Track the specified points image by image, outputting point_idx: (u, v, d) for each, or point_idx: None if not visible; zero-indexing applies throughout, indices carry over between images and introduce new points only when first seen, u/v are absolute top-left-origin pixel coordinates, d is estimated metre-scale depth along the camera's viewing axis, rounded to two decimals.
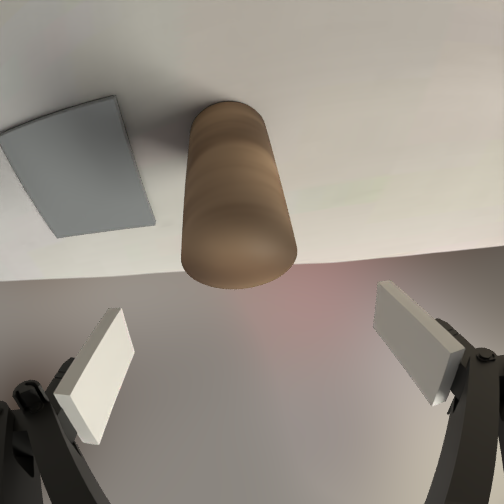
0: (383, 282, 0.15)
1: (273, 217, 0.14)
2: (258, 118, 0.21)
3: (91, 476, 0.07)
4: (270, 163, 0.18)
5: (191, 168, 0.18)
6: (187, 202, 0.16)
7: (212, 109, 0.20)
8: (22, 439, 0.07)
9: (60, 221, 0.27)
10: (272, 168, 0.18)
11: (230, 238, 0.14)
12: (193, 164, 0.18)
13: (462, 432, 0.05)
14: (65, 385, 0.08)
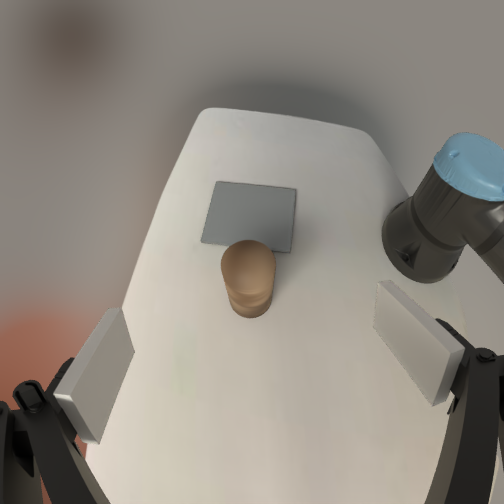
0: (383, 282, 0.15)
1: (268, 283, 0.33)
2: (262, 312, 0.42)
3: (91, 476, 0.07)
4: (262, 300, 0.37)
5: None
6: None
7: None
8: (22, 439, 0.07)
9: (227, 190, 0.53)
10: (261, 300, 0.37)
11: (265, 263, 0.34)
12: None
13: (462, 432, 0.05)
14: (65, 385, 0.08)
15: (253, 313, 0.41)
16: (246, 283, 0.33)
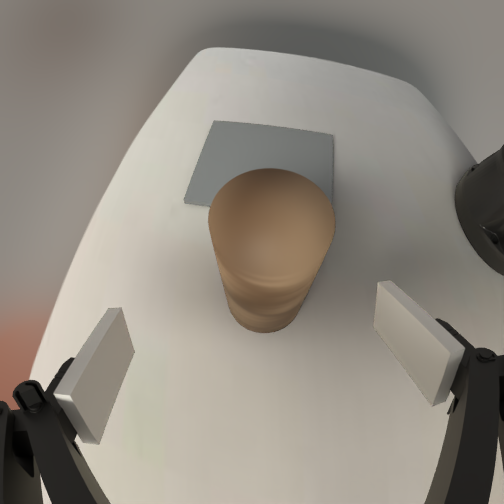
0: (383, 282, 0.15)
1: (318, 261, 0.14)
2: (286, 323, 0.23)
3: (91, 476, 0.07)
4: (293, 303, 0.18)
5: None
6: None
7: None
8: (22, 439, 0.07)
9: (230, 131, 0.33)
10: (293, 302, 0.18)
11: (311, 215, 0.14)
12: None
13: (462, 432, 0.05)
14: (65, 385, 0.08)
15: (271, 325, 0.22)
16: (268, 259, 0.13)
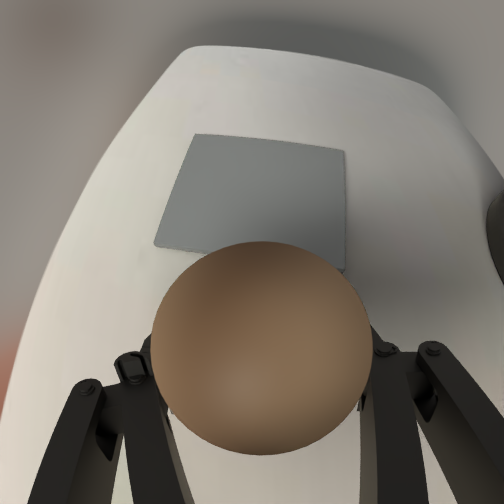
0: None
1: None
2: None
3: (177, 455, 0.08)
4: None
5: None
6: None
7: None
8: (116, 415, 0.09)
9: (214, 148, 0.27)
10: None
11: (332, 338, 0.08)
12: None
13: (376, 434, 0.06)
14: None
15: None
16: (254, 429, 0.07)
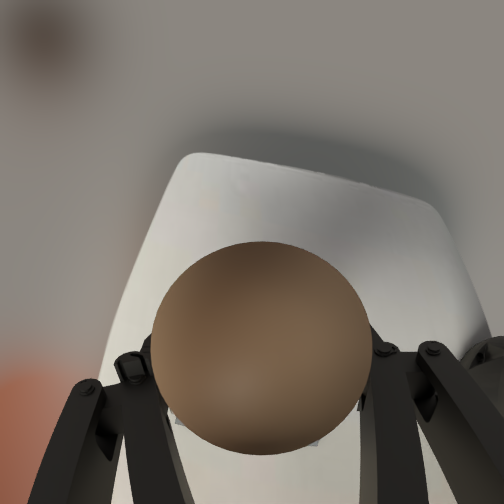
0: None
1: None
2: None
3: (177, 455, 0.08)
4: None
5: None
6: None
7: None
8: (117, 415, 0.09)
9: None
10: None
11: (332, 338, 0.08)
12: None
13: (376, 434, 0.06)
14: None
15: None
16: (254, 429, 0.07)
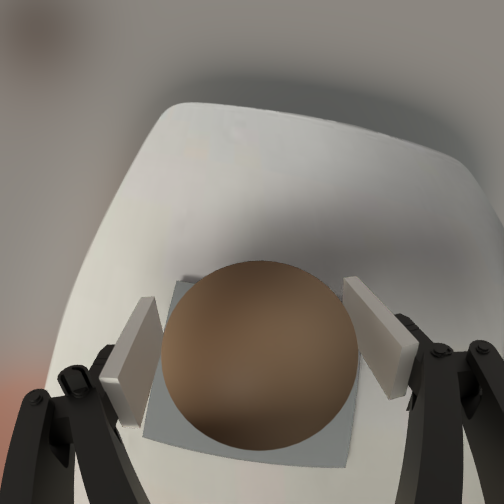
0: (348, 278, 0.16)
1: None
2: None
3: (129, 464, 0.07)
4: None
5: None
6: None
7: None
8: (63, 426, 0.08)
9: None
10: None
11: (321, 348, 0.09)
12: None
13: (424, 431, 0.06)
14: (110, 369, 0.09)
15: None
16: (253, 427, 0.08)
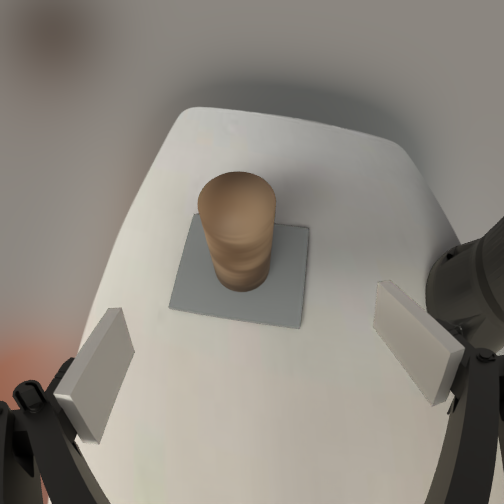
0: (383, 282, 0.15)
1: (264, 227, 0.23)
2: (256, 284, 0.32)
3: (91, 476, 0.07)
4: (256, 261, 0.27)
5: None
6: None
7: None
8: (22, 439, 0.07)
9: None
10: (255, 260, 0.27)
11: (260, 199, 0.23)
12: None
13: (462, 432, 0.05)
14: (65, 385, 0.08)
15: (245, 283, 0.31)
16: (232, 225, 0.22)
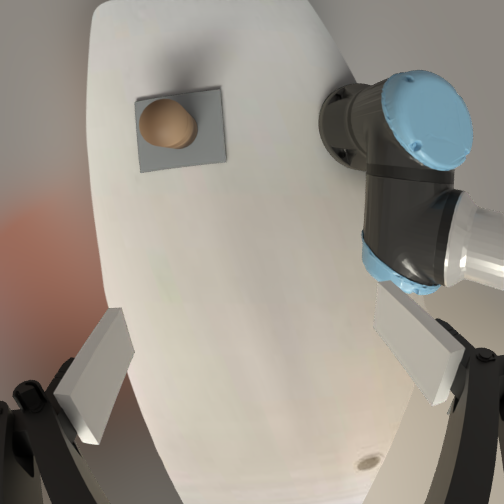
0: (383, 282, 0.15)
1: (183, 133, 0.35)
2: (191, 142, 0.44)
3: (91, 476, 0.07)
4: (185, 141, 0.39)
5: None
6: None
7: (195, 121, 0.44)
8: (22, 439, 0.07)
9: None
10: (184, 141, 0.39)
11: (177, 117, 0.33)
12: None
13: (462, 432, 0.05)
14: (65, 385, 0.08)
15: (183, 146, 0.43)
16: (165, 140, 0.34)
